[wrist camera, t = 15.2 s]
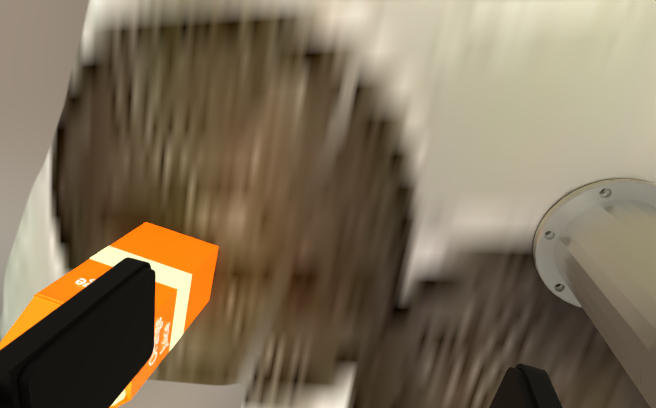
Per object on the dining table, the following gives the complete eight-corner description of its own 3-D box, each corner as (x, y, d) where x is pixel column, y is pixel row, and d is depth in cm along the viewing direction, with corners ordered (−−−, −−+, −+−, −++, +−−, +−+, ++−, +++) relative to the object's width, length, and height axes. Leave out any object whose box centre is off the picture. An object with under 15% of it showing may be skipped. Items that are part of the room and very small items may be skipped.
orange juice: (145, 220, 44) (-40, 341, 26) (219, 245, 44) (84, 386, 25) (140, 278, 47) (-29, 422, 29) (209, 302, 47) (82, 464, 28)
